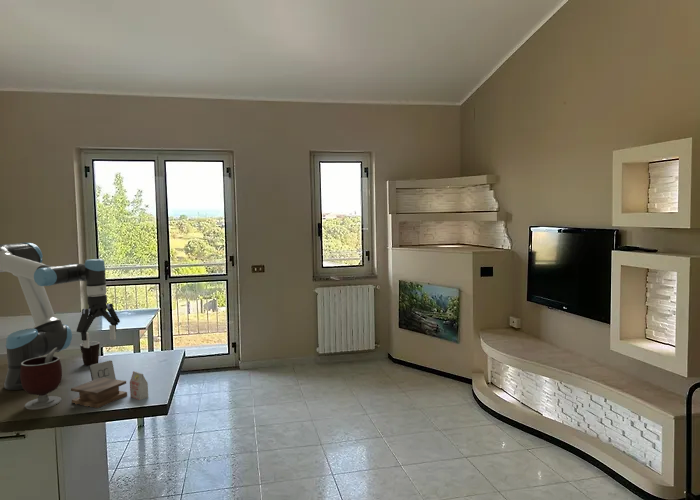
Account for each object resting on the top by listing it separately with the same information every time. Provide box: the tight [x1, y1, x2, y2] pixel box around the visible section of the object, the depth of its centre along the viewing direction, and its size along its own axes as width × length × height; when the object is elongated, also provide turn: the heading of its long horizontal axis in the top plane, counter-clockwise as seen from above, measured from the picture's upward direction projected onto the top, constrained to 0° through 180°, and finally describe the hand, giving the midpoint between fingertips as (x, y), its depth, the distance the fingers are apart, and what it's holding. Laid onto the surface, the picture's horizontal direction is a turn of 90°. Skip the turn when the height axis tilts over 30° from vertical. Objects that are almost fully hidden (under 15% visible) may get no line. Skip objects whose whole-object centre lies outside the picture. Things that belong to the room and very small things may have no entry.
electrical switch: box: [89, 360, 117, 381], centre depth 222 cm, size 9×5×9 cm, turn 141°
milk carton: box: [129, 370, 149, 401], centre depth 204 cm, size 4×7×10 cm, turn 53°
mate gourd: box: [20, 348, 63, 411], centre depth 199 cm, size 16×14×20 cm
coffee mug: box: [79, 341, 100, 367], centre depth 250 cm, size 12×9×10 cm
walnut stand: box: [70, 377, 128, 409], centre depth 202 cm, size 14×14×6 cm
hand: (100, 343), depth 221 cm, fingers open, 13 cm apart
